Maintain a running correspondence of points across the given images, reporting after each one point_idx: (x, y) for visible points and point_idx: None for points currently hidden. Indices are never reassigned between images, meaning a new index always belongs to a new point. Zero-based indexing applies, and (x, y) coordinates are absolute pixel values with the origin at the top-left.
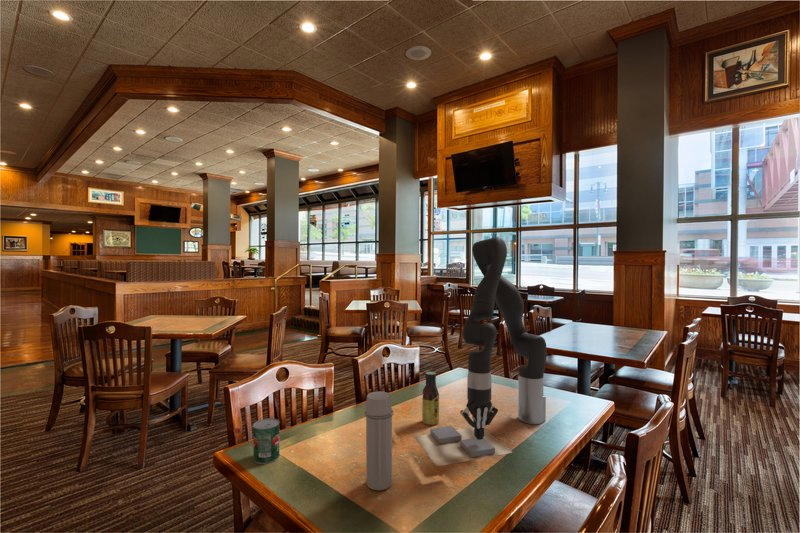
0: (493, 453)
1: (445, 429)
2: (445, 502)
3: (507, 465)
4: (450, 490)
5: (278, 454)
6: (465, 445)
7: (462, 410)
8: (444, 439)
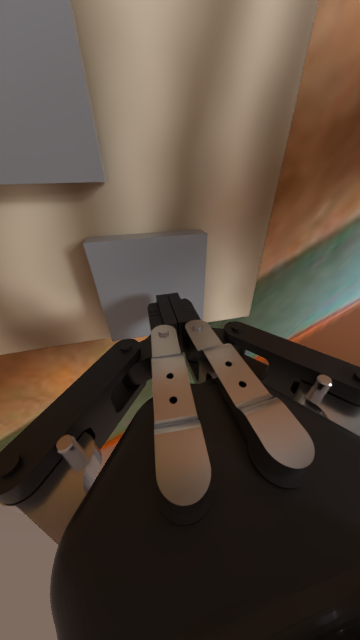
0: None
1: None
2: (14, 430)
3: None
4: (27, 406)
5: None
6: (99, 296)
7: (8, 495)
8: None
